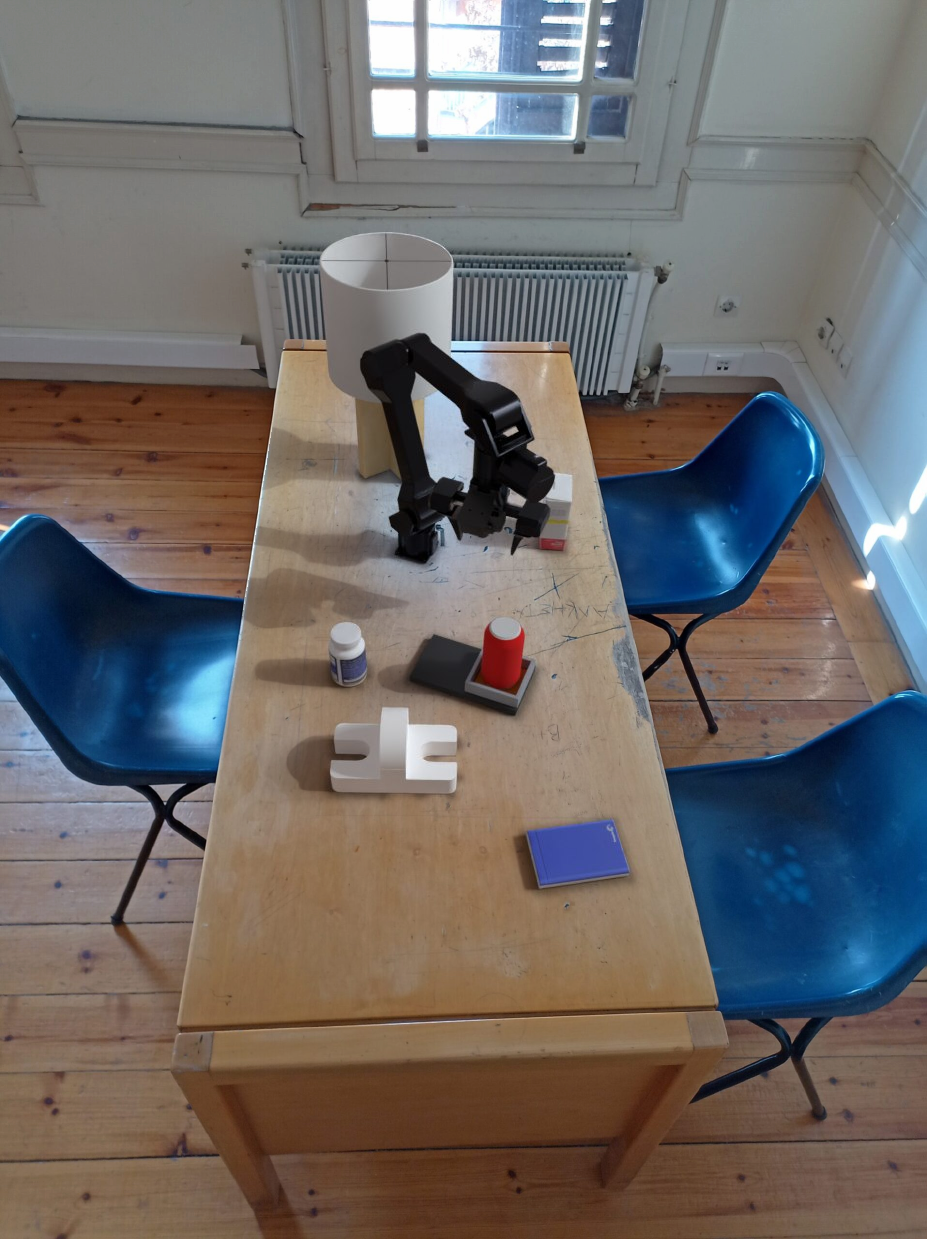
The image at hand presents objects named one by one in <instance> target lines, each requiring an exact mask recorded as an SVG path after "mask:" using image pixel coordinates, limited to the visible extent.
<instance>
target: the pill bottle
mask: <svg viewBox="0 0 927 1239" xmlns="http://www.w3.org/2000/svg"><path fill="white" fill-rule="evenodd" d="M329 636H330V639H329V642H328V656H329V665H330V673H331V677H332V680H333V681H334V682H335V683H336V684H337V685H339V686H341V687H346V688H347V687H349V688H350V687H355V686H358V685H360V684H361V683H362V682H364V681H365V679H366V678H367V674H368V665H367V652H366V650H367V649H366V641H365V640H364V638H363V637H362V631H361V628H360V627H359V625H357V624H355V623H354V622H349V621H344V622H339V623H337V624H335V625H334V626H333V627H332V629H330V633H329Z"/></svg>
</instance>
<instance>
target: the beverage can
mask: <svg viewBox="0 0 927 1239" xmlns="http://www.w3.org/2000/svg"><path fill="white" fill-rule="evenodd" d="M525 638H526V634H525V630H524V628H523V627H522V625H521V624H520V622H518V620H516V619H515V618H513V617H510V616H499V617H496V618H493V619H492V620H491V621H490V622H489V623H488V624H487V625H486V627H485V628H484V632H483V642H482V648H483V654H482V666H481V676H482V678H483V680H484V681H485V683H486V684H487V685H489V686H490V687H492V688H495V689H499V690H504V689H509V688H511V687H513V686H514V685H516V683H517V682H518V680H519V678H520V671H521V663H522V656H524V654H523V653H524V648H525V641H526V640H525Z"/></svg>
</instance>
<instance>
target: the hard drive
mask: <svg viewBox="0 0 927 1239" xmlns="http://www.w3.org/2000/svg"><path fill="white" fill-rule="evenodd" d="M525 833H526V834H525V836H526V841H527V845H528V849H529V854H530V857H531V861H532V865H533V870H534V874H535V878H536V882H537V886H538V889H547V888H553V887H561V886H568V885H574V884H580V883H581V884H582V883H589V882H595V881H602V880H603V881H604V880H609V879H610V880H611V879H615V878H623V877H628V876H629V875H630V873H631V871H630V867H629V864H628V862H627V858H626V855H625V852H624V849H623V846H622V842H621V839H620V836H619V833H618V831H617V826H616V825H615V821H614V819H613V818H612V819H604V820H595V821H589V822H588V821H587V822H581V823H573V824H567V825H566V824H565V825H560V826H551V827H545V828H538V829H529V830H526V832H525Z"/></svg>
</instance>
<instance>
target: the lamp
mask: <svg viewBox="0 0 927 1239" xmlns="http://www.w3.org/2000/svg"><path fill="white" fill-rule="evenodd" d="M318 263H319V264H318V265H319V275H320V276H319V277H320V278H319V279H320V288H321V290H320V291H321V301H322V312H323V313H322V314H323V323H324V324H323V325H324V335H325V337H324V338H325V347H326V348H325V349H326V356H327V357H326V358H327V371H328V375H329V379H330V381H331V383H332V384H333V385H334V386H335V387H336V388H337V389H339V391H340V392H342V393H344V394H346V395H347V396H350V397H352V398H354V403H355V404H354V407H355V419H356V437H357V454H358V471H359V474H360V475H361V476H362V477H363V478H364V479H367V478H370V477H372V476H376V475H379V474H381V473H384V472H387V471H389V470H390V471H391V472H392V473H394V474H395V475H396V476H397V478H398V479H399V480H401V476H400V472H399V468H398V464H397V460H396V457H395V453H394V449H393V445H392V441H391V437H390V433H389V429H388V426H387V422H386V418H385V414H384V410H383V406H382V403H381V401H380V400H379V399H378V398H377V397H376V396H375V395H374V394H373V393H372V392H371V391H370V390H369V389H368V387H367V384H366V382H365V379H364V377H363V375H362V373H361V370H360V358H362V355H363V353H364V352H365V351H367V350H369V349H372V348H374V347H377V346H379V345H382V344H384V343H387V342H389V341H392V340H394V339H399V340H401V339H403V338H406V337H408V336H411V335H413V334H416V333H425V334H427V335H428V336H429V337H430V339H431V341H432V343H433V344H434V345H436V346H437V347H438V348H440V349H441V350H442V351H443V352H445V353H446V354H447V355H449V356H450V357H451V358H452V330H453V329H452V328H453V327H452V324H453V297H454V296H453V295H454V294H453V292H454V290H453V289H454V259H453V256H452V254H451V253H450V251H448V250H447V249H446V248H445V247H444V246H443V245H442V244H439V243H437V242H435V241H433V240H431V239H428V238H425V237H422V236H419V235H415V234H409V233H402V232H389V231H388V232H385V231H381V232H367V233H360V234H355V235H351V236H348V237H347V236H346V237H344V238H341V239H339V240H337V241H335V242H333V243H331V244H330V245H328V246H327V247H326V248H325V249H324V250H323V251H322V252H321V254H320V257H319V260H318ZM438 392H439V391H438V390H437V389H436V388H435V387H433V386H432V385H431V384H430V383H428V382H427V381H426V380H425V379H423V378H422V377H421V376H420V375H419V374H417V373H416V379H415V382H414V386H413V390H412V393H411V399H412V403H413V407H414V411H415V415H416V420H417V424H418V428H419V432H420V436H421V441H422V445H423V449H424V450H425V398H427V397H429V396H431V395H434V394H435V393H438Z"/></svg>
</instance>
